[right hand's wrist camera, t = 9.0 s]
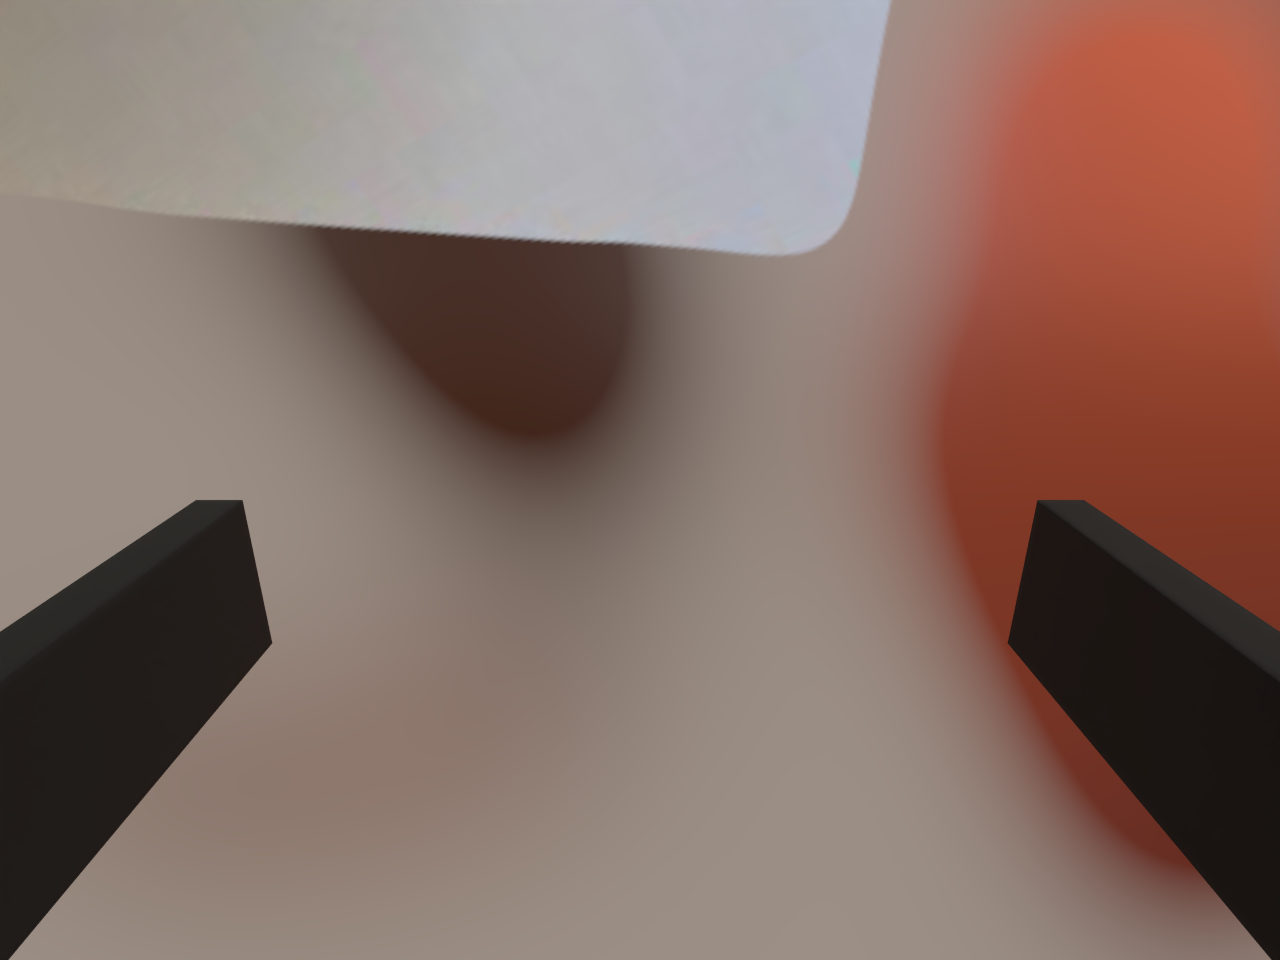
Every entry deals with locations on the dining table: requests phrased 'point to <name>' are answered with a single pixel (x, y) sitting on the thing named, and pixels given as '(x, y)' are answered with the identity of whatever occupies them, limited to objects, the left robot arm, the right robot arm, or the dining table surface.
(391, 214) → the dining table surface
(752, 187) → the dining table surface
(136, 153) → the dining table surface
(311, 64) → the dining table surface
